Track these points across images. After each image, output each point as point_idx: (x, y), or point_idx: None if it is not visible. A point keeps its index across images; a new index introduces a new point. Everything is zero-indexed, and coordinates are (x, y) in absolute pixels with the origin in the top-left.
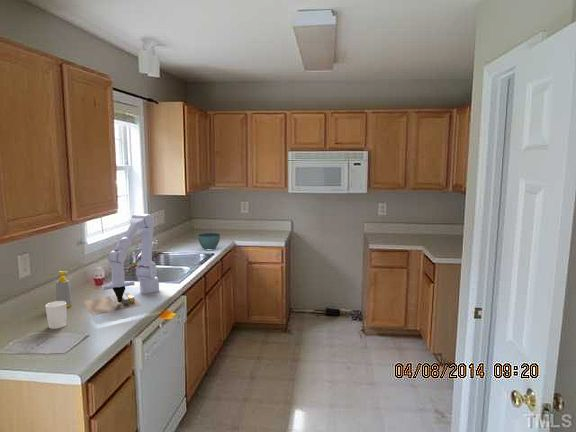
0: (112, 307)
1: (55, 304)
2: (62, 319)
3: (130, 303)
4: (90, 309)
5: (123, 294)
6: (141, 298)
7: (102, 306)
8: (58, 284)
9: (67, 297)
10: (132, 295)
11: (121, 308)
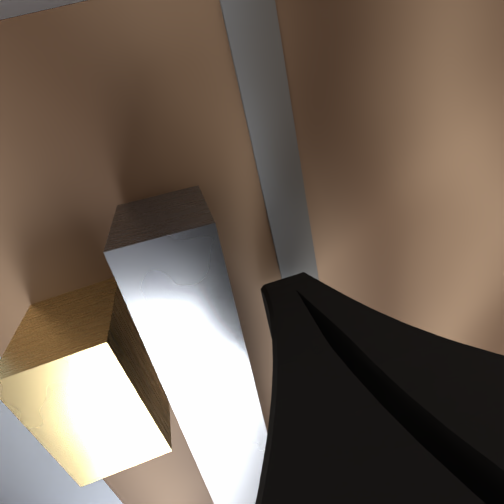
0: (383, 164)
1: None
2: None
3: (105, 270)
4: None
5: (240, 493)
6: (14, 492)
7: (474, 251)
8: None
9: None
10: (68, 465)
11: (255, 12)
